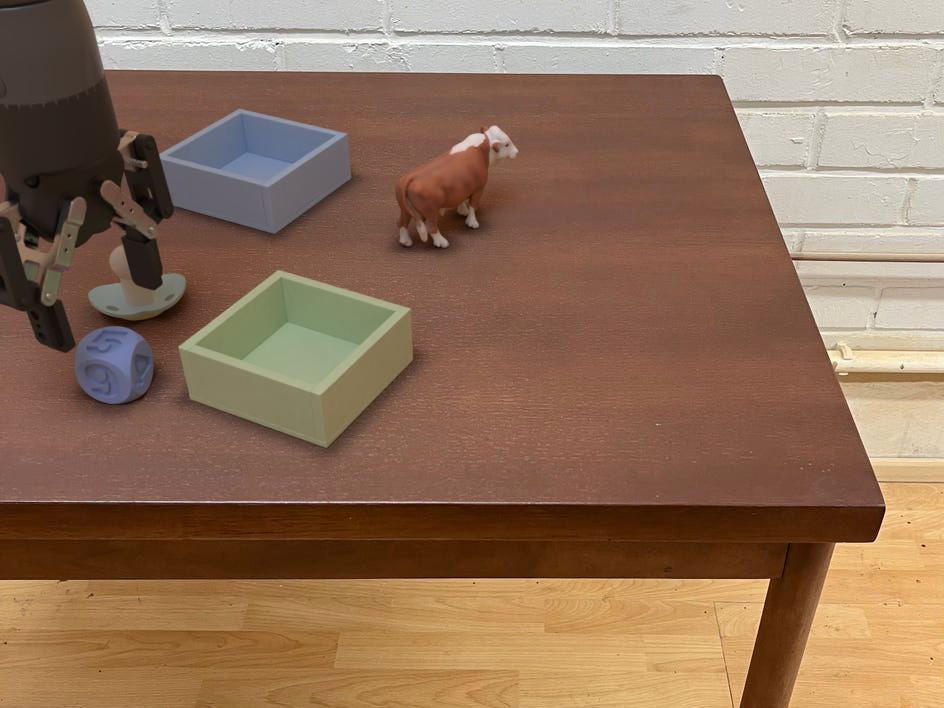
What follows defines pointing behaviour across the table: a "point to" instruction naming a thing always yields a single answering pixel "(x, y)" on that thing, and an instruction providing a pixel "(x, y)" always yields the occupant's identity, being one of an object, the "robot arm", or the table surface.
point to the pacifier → (135, 293)
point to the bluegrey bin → (256, 169)
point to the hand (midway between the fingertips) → (106, 315)
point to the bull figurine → (450, 183)
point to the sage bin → (298, 356)
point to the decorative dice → (114, 364)
